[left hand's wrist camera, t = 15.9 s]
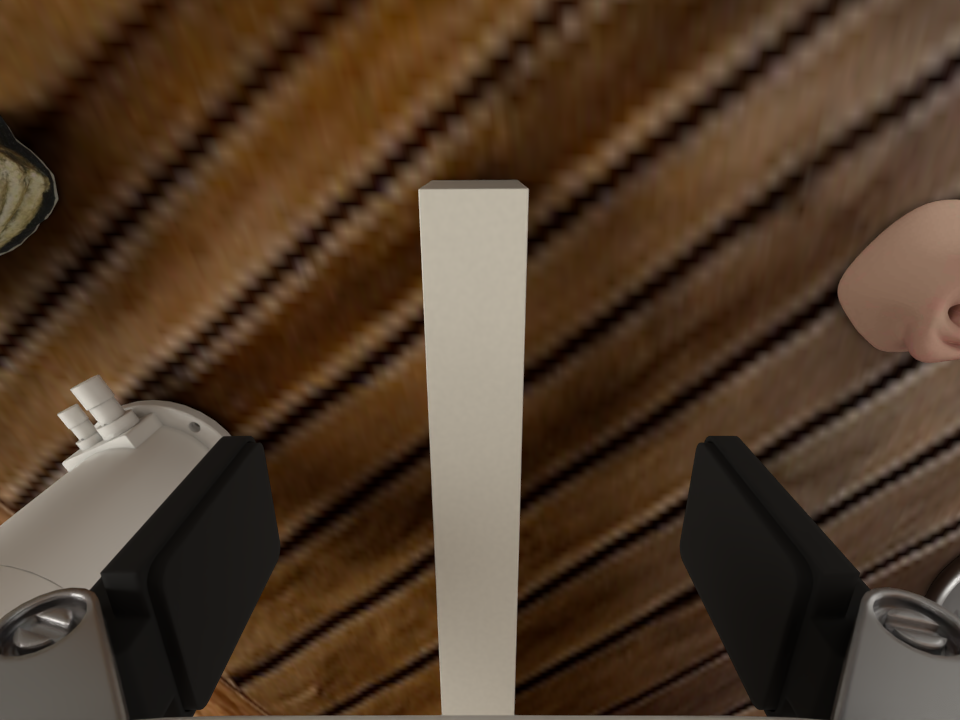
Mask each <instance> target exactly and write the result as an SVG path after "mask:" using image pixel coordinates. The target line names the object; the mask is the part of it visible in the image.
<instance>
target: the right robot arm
mask: <svg viewBox="0 0 960 720" xmlns="http://www.w3.org/2000/svg"><path fill="white" fill-rule="evenodd" d="M925 598H927V599H929V600H931V601H933V602H935V603H938V604H939V605H941V606H942V607H944V608H945V609H947V610H948V611H950V612H952V613H953V614H955V615H956V616H957V617H958V618H959V619H960V556H959V557H957V558H956V559H955V560H954V561H952V562H951V563H950V564H949V565H948V566H947V567H946V568H945V569H944V570H943V571H942V572H941V573H940V574H939V575H938V577H937V578H936V579H935V581H934V582H933V583H932V585H931V587H930V588H929V590H928V592H927V594H926V596H925Z"/></svg>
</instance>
